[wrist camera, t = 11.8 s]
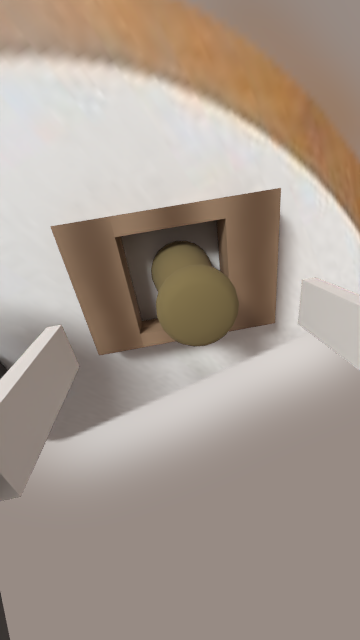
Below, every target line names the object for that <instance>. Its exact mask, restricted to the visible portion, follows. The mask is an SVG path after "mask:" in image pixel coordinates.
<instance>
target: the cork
mask: <svg viewBox="0 0 360 640" xmlns="http://www.w3.org/2000/svg"><path fill="white" fill-rule="evenodd" d="M151 272H152V279H153V282H154V284H155V286H156V289H157V291H158V296H157V300H156V310H157V318H158V320H159V322H160V324H161V327H162V328H163V330H164V331H165V332H166V333H167V334H168V335H169V336H170V337H171V338H172V339H174V340H175V341H177V342H179V343H181V344H185V345H190V346H205V345H208V344H211V343H214V342H216V341H218V340H219V339H221V338H222V337H223V336H225V335H226V334H227V332H228V331H229V330H230V329H231V328H232V326H233V325H234V322H235V320H236V318H237V315H238V308H239V301H238V297H237V293H236V289H235V287H234V285H233V284H232V282H231V281H230V279H229V278H228V277H227V276H226V275H224V274H223V273H222V272H220V271H219V270H217V269H216V268H214V267H212V265H211V263H210V260H209V258H208V256H207V255H206V253H205V252H204V250H203V249H202V248H200V247H199V246H198V245H196V244H195V243H191V242H188V241H175V242H172V243H170V244H167V245H165V246H164V247H163V248H162V249H161V250H160V251H158V253H157V255H156V256H155V258H154V260H153V264H152V268H151Z"/></svg>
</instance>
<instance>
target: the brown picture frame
mask: <svg viewBox="0 0 360 640" xmlns="http://www.w3.org/2000/svg"><path fill="white" fill-rule="evenodd" d="M280 197H281V188H278V189H272V190H266V191H260V192H254V193H248V194H242V195H236V196H230V197H224V198H218V199H212V200H206V201H200V202H194V203H188V204H182V205H176V206H170V207H164V208H158V209H152V210H146V211H140V212H134V213H128V214H122V215H116V216H110V217H104V218H99V219H93V220H87V221H81V222H75V223H69V224H63V225H57V226H51V229H52V232H53V235H54V237H55V240H56V243H57V245H58V248H59V251H60V253H61V256H62V258H63V261H64V264H65V266H66V269H67V272H68V274H69V277H70V280H71V282H72V285H73V288H74V290H75V293H76V296H77V298H78V301H79V303H80V306H81V309H82V311H83V314H84V317H85V319H86V322H87V325H88V327H89V330H90V333H91V335H92V338H93V341H94V343H95V346H96V348H97V351H98V354H99V355H104V354H110V353H115V352H121V351H126V350H131V349H137V348H142V347H148V346H153V345H158V344H164V343H169V342H175V340H174V339H172V338H171V337H170V336H169V335H168V334H167V333H166V332H165V331H164V330H163V328H162V327H161V324H160V322H159V320H158V318H155V319H150V320H144V321H142V319H141V315H140V311H139V307H138V304H137V300H136V296H135V292H134V288H133V284H132V280H131V276H130V272H129V268H128V264H127V260H126V256H125V252H124V248H123V244H122V240H121V236H125V235H131V234H137V233H143V232H149V231H155V230H160V229H166V228H172V227H178V226H184V225H190V224H196V223H202V222H207V221H213V220H217V233H218V248H219V262H220V272H222V273H223V274H224V275H226V276H227V277H228V278H229V279H230V281H231V282H232V284H233V285H234V287H235V289H236V293H237V297H238V301H239V308H238V315H237V318H236V320H235V322H234V325H233V326H232V328H231V329H230V330H229V331H234V330H240V329H245V328H250V327H256V326H261V325H267V324H272V323H275V310H276V287H277V265H278V242H279V220H280ZM229 331H228V332H229Z"/></svg>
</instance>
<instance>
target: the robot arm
mask: <svg viewBox="0 0 360 640" xmlns="http://www.w3.org/2000/svg"><path fill="white" fill-rule="evenodd" d="M298 324H299V325H300V326H301V327H303V328H304V329H305V330H306V331H308V332H309V333H310V334H312V335H313V336H314V337H316V338H317V339H318V340H320V341H321V342H322V343H324V344H325V345H327V346H328V347H329V348H330V349H332V350H333V351H334V352H336V353H337V354H338V355H340V356H341V357H342V358H344V359H345V360H346V361H347V362H349V363H350V364H351V365H353V366H354V367H355V368H357V369H358V370H359V371H360V295H359V294H356V293H354V292H351V291H349V290H346V289H344V288H341V287H339V286H336V285H333V284H331V283H328V282H326V281H323V280H321V279H318V278H316V277H314V278H309V279H304V280H302V285H301V295H300V305H299V316H298ZM79 367H80V366H79V364H78V361H77V359H76V357H75V354H74V352H73V350H72V348H71V345H70V343H69V341H68V339H67V336H66V334H65V332H64V329H63V327H62V325H57V326H51V327H47V328H46V329H45V330H44V331H43V332H42V333H41V334H40V335H39V337H38V338H37V339H36V340H35V341H34V342H33V343H32V344H31V346H30V347H29V348H28V349H27V350H26V351H25V352H24V353H23V355H22V356H21V357H20V358H19V359H18V360H17V361H16V362H15V364H14V365H13V366H12V367H11V368H10V369H9V370H8V371H7V370H6V369H5V368H4V366H3V365H2V364H1V363H0V501H4V500H8V499H13V498H18V497H21V495H22V493H23V491H24V489H25V486H26V484H27V482H28V480H29V477H30V475H31V473H32V471H33V469H34V466H35V464H36V462H37V460H38V458H39V455H40V453H41V451H42V449H43V447H44V444H45V442H46V440H47V438H48V435H49V433H50V431H51V429H52V427H53V424H54V422H55V420H56V418H57V416H58V413H59V411H60V409H61V407H62V404H63V402H64V400H65V398H66V396H67V393H68V391H69V389H70V387H71V385H72V382H73V380H74V378H75V376H76V373H77V371H78V369H79ZM0 640H10V638H9V633H8V628H7V623H6V618H5V613H4V608H3V604H2V598H1V593H0Z"/></svg>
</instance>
